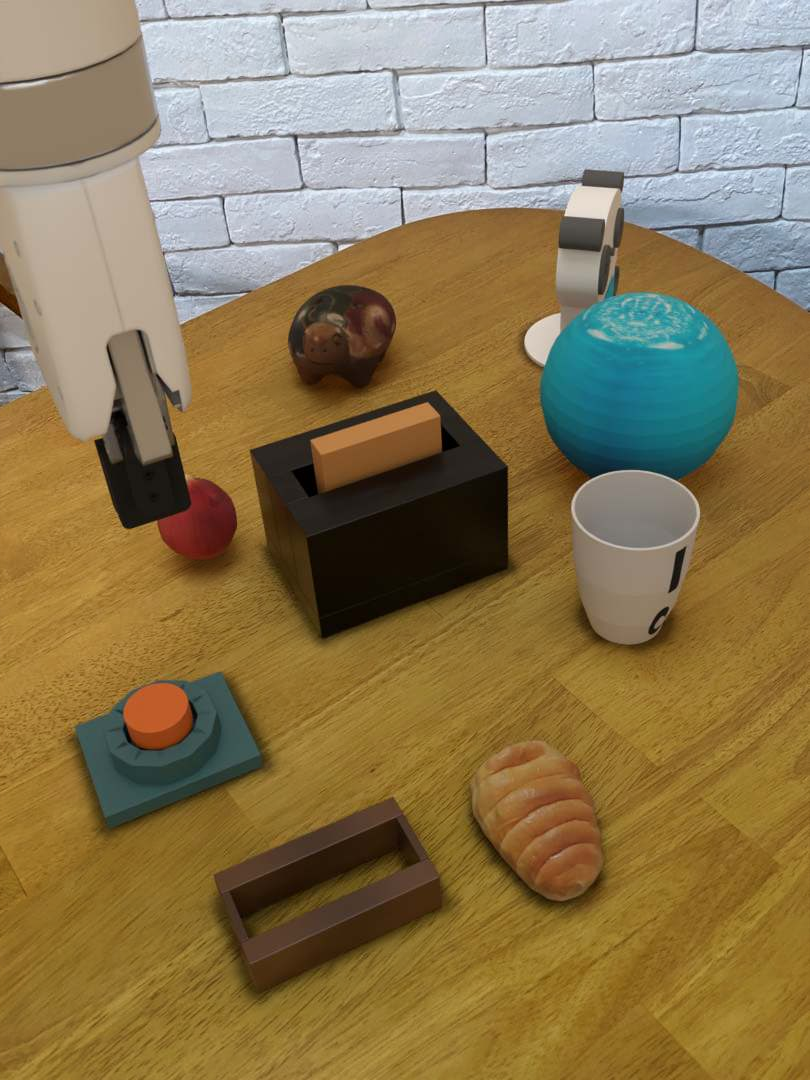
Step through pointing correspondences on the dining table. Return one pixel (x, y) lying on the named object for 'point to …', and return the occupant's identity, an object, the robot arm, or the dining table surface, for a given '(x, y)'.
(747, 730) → the dining table surface
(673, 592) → the cup
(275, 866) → the brown rectangular frame
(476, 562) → the toaster
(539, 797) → the pastry
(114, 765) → the block
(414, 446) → the toast
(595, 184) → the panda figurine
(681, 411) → the decorative orb
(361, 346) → the brown mottled ceramic figure
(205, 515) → the onion
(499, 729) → the dining table surface
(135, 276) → the robot arm
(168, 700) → the button
